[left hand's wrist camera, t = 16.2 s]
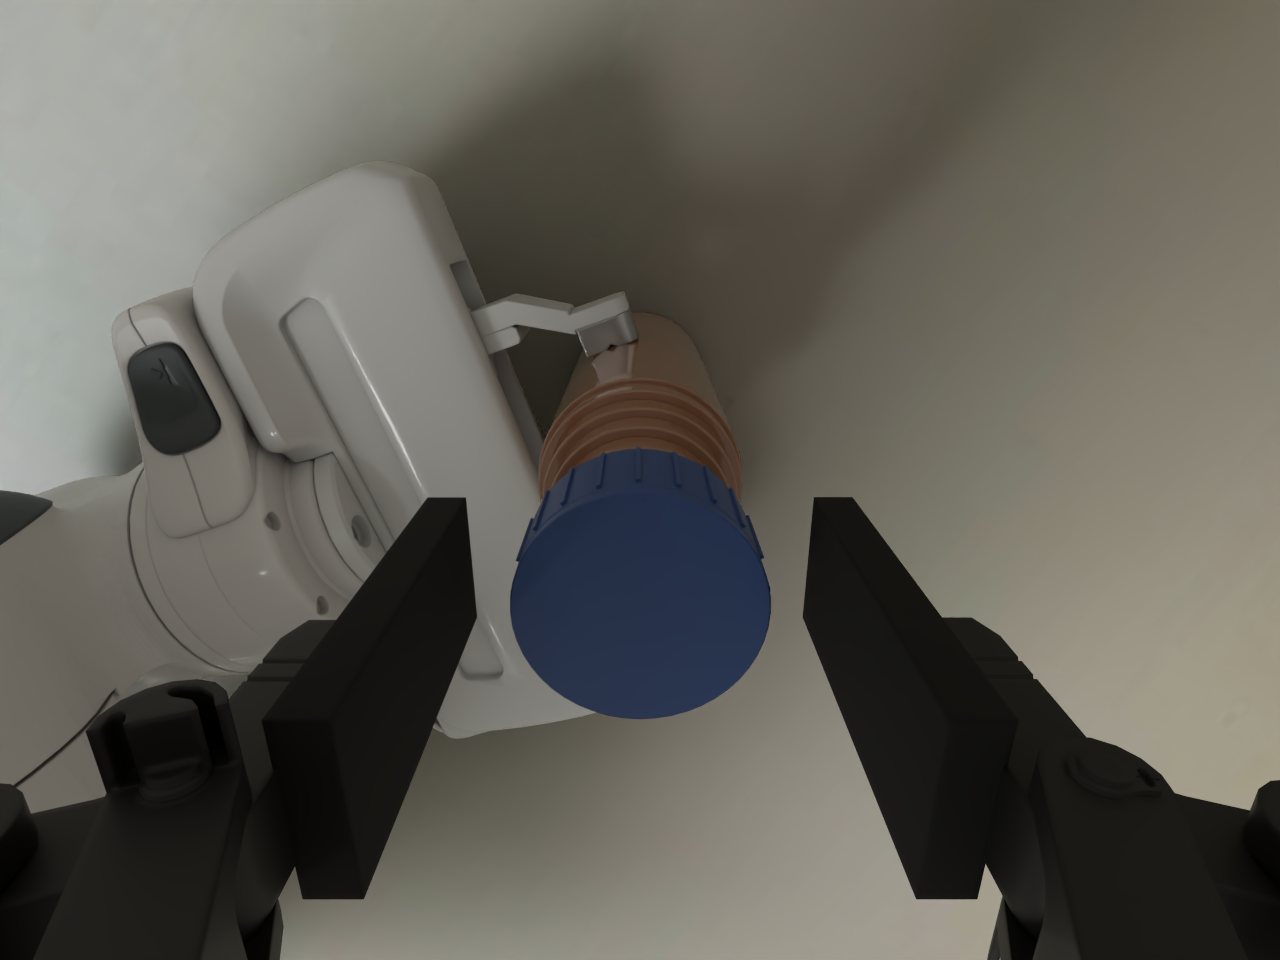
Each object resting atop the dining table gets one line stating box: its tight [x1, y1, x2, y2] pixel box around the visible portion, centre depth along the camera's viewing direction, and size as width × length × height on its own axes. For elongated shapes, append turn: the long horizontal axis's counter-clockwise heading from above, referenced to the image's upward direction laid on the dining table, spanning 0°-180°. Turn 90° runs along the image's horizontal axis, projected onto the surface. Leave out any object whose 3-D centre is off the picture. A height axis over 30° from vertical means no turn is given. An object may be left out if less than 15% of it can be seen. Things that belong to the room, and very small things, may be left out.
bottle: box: [538, 312, 742, 503], centre depth 22 cm, size 5×5×19 cm
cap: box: [510, 447, 771, 719], centre depth 14 cm, size 5×5×2 cm
